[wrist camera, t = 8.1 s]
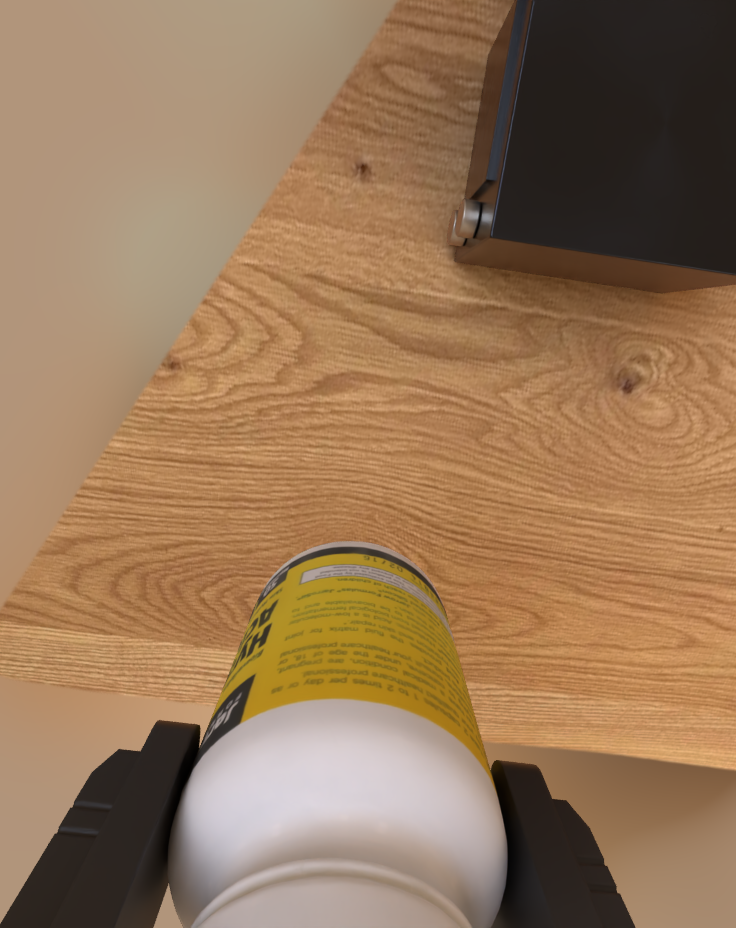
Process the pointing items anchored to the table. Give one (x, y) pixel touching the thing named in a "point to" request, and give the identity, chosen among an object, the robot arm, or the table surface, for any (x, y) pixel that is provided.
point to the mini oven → (607, 145)
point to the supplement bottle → (341, 763)
